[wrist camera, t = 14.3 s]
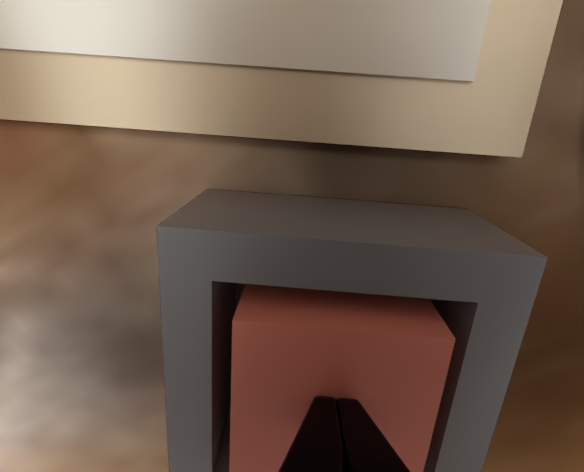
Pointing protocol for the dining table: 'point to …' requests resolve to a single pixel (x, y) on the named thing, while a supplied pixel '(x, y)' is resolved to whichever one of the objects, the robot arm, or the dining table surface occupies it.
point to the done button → (333, 368)
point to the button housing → (346, 278)
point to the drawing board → (284, 68)
